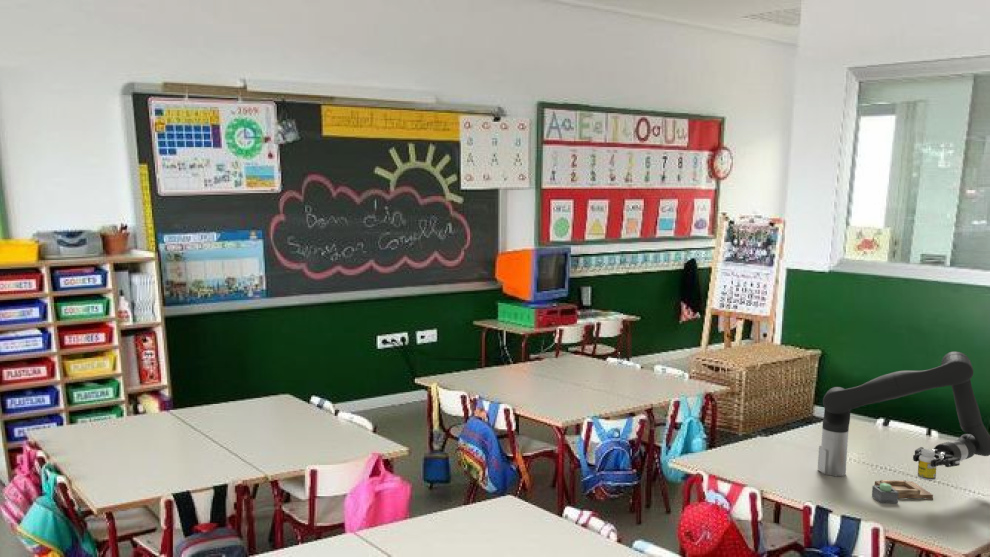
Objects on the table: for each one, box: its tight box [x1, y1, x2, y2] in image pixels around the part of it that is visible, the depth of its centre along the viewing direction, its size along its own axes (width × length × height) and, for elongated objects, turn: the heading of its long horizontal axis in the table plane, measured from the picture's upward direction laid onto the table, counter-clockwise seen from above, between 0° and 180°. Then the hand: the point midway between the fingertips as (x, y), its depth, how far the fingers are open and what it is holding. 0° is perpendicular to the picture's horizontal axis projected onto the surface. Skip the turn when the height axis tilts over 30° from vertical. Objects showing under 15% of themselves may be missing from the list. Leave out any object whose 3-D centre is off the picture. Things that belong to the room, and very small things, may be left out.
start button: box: [880, 483, 891, 491], centre depth 262 cm, size 4×4×3 cm
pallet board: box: [874, 479, 934, 500], centre depth 270 cm, size 14×13×3 cm
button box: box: [871, 485, 899, 504], centre depth 262 cm, size 6×6×4 cm
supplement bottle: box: [917, 448, 937, 482], centre depth 255 cm, size 5×5×10 cm
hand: (923, 461), depth 254 cm, fingers closed on supplement bottle, 5 cm apart
